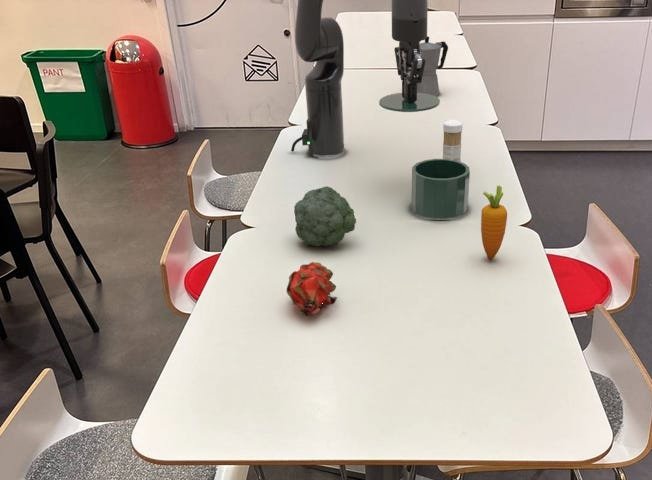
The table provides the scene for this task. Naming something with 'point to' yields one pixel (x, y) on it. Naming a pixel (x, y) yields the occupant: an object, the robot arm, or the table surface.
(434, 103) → the lid
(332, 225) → the vegetable
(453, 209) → the pot
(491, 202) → the carrot
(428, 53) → the coffeepot
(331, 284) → the dragon fruit
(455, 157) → the sprinkles bottle
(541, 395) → the table surface
